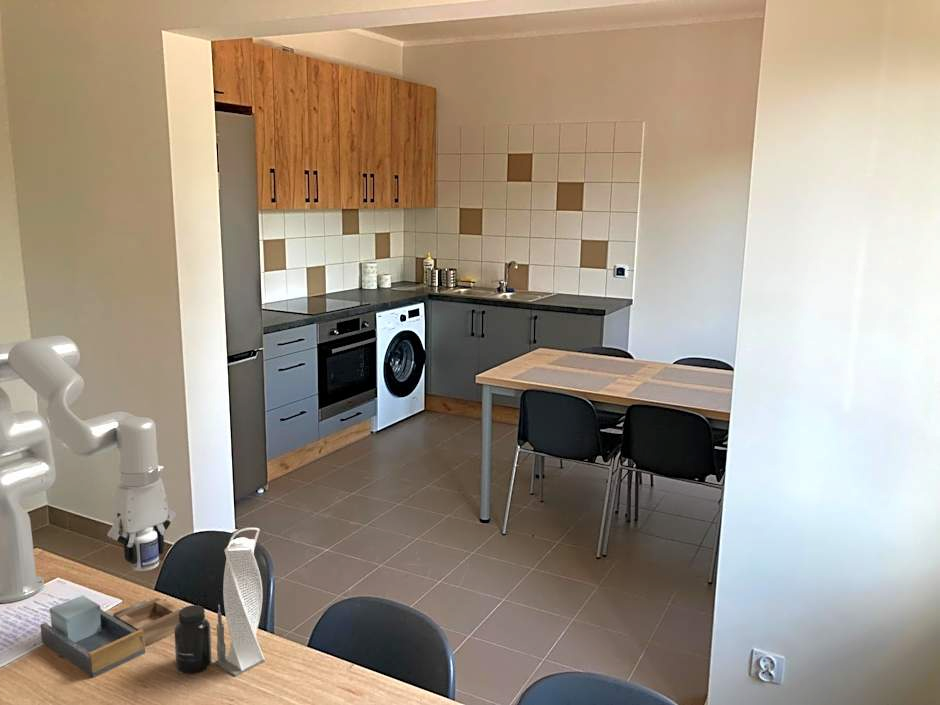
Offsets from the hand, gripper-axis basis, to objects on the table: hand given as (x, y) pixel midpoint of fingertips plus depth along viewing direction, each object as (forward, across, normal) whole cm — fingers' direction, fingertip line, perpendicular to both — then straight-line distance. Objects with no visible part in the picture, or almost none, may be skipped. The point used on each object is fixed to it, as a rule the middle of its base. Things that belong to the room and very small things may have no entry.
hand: (145, 556), depth 165 cm
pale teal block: (+16, +11, -10) cm, 22 cm away
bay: (+17, +11, -3) cm, 21 cm away
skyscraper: (+17, -5, +26) cm, 32 cm away
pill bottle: (+2, 0, 0) cm, 2 cm away
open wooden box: (+17, 0, -2) cm, 17 cm away
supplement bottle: (+17, +2, +19) cm, 26 cm away
